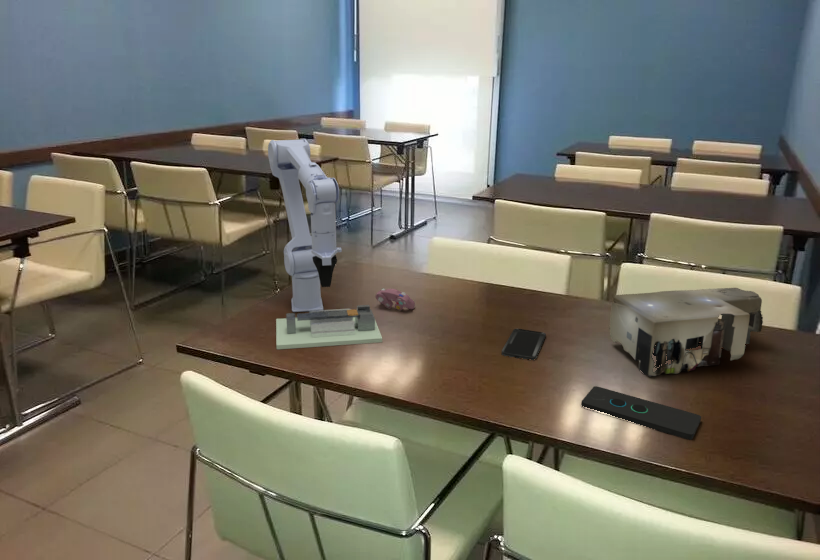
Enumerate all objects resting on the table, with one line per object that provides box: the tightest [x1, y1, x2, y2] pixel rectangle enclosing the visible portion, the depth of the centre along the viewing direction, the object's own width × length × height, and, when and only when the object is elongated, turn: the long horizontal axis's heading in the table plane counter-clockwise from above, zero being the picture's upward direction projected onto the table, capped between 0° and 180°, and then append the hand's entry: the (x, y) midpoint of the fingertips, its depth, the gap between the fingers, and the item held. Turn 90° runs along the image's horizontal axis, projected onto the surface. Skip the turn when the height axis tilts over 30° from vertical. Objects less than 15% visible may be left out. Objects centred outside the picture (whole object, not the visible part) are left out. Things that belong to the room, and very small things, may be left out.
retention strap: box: [296, 308, 367, 321], centre depth 153 cm, size 3×16×1 cm, turn 101°
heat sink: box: [308, 308, 355, 338], centre depth 153 cm, size 10×10×3 cm
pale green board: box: [275, 317, 383, 350], centre depth 154 cm, size 16×24×1 cm, turn 101°
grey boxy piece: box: [609, 287, 764, 378], centre depth 143 cm, size 18×33×13 cm, turn 101°
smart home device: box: [580, 385, 702, 441], centre depth 120 cm, size 8×2×20 cm
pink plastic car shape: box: [374, 287, 416, 311], centre depth 168 cm, size 10×5×7 cm, turn 63°
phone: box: [501, 328, 547, 361], centre depth 148 cm, size 8×1×15 cm
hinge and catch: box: [285, 304, 376, 334], centre depth 153 cm, size 6×20×4 cm, turn 101°
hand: (325, 286), depth 154 cm, fingers closed
